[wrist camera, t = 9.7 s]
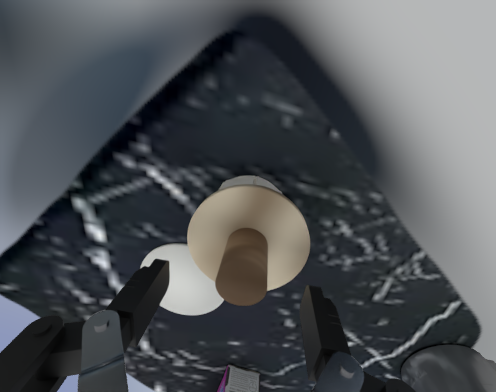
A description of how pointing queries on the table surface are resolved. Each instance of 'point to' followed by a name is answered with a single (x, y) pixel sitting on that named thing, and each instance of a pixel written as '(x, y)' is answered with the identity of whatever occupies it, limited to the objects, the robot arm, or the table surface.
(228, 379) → the candy bar box
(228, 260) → the lid
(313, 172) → the table surface
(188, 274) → the white round disc
